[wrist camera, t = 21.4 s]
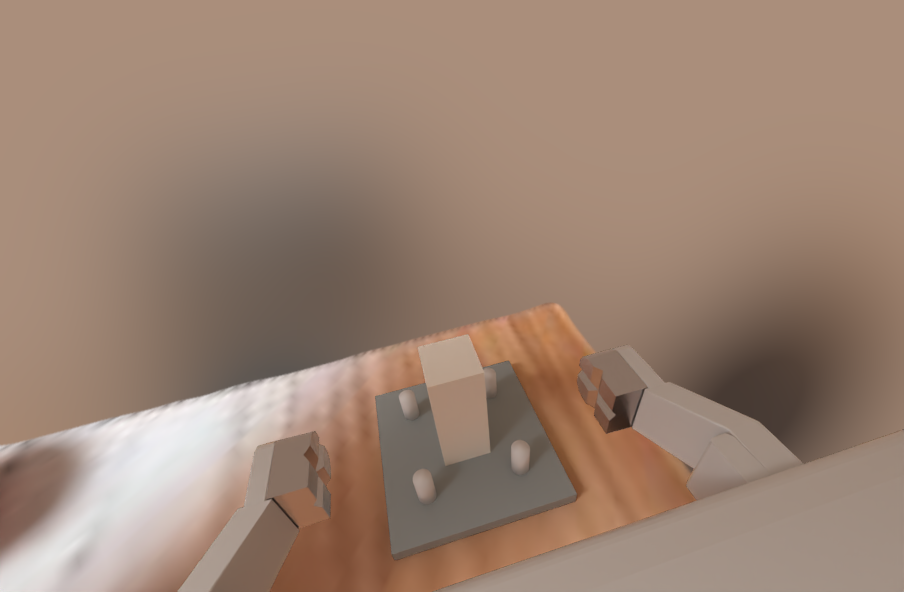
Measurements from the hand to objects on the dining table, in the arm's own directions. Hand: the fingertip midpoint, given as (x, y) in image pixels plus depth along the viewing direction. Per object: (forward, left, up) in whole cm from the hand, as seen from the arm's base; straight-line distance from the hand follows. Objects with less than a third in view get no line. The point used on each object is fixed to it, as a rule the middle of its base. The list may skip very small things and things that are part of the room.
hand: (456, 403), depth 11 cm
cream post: (+2, +16, -28) cm, 33 cm away
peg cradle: (+2, +16, -30) cm, 34 cm away
